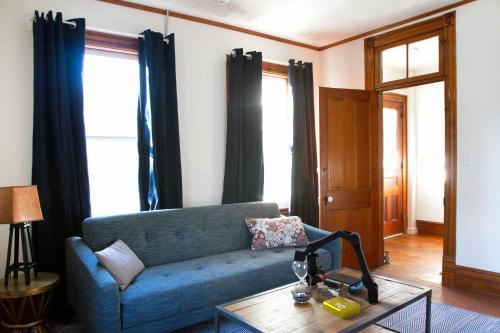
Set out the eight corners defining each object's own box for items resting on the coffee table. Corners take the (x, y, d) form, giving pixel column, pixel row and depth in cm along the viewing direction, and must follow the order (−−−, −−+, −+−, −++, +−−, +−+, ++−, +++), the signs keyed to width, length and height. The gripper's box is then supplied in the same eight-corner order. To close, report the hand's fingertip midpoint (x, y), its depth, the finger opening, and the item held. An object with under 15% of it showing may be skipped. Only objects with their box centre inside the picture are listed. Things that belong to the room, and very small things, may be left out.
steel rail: (328, 292, 222) (328, 287, 221) (296, 294, 218) (296, 289, 218) (326, 290, 225) (326, 285, 225) (294, 292, 221) (294, 287, 221)
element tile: (362, 312, 197) (362, 303, 197) (342, 319, 189) (342, 310, 188) (340, 302, 209) (340, 294, 209) (321, 309, 201) (321, 300, 201)
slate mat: (332, 295, 219) (332, 293, 219) (295, 298, 215) (295, 296, 215) (326, 289, 228) (326, 288, 228) (290, 292, 224) (290, 290, 224)
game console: (368, 280, 226) (356, 286, 216) (368, 290, 226) (356, 297, 216) (328, 269, 245) (315, 275, 235) (327, 279, 246) (315, 285, 235)
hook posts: (348, 299, 213) (348, 286, 212) (316, 302, 209) (316, 289, 209) (343, 295, 219) (343, 282, 219) (312, 297, 215) (312, 284, 215)
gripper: (330, 267, 213) (330, 294, 214) (318, 257, 232) (318, 282, 233) (312, 268, 211) (311, 295, 212) (301, 258, 229) (301, 283, 231)
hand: (311, 288), depth 222 cm, fingers open, 7 cm apart
